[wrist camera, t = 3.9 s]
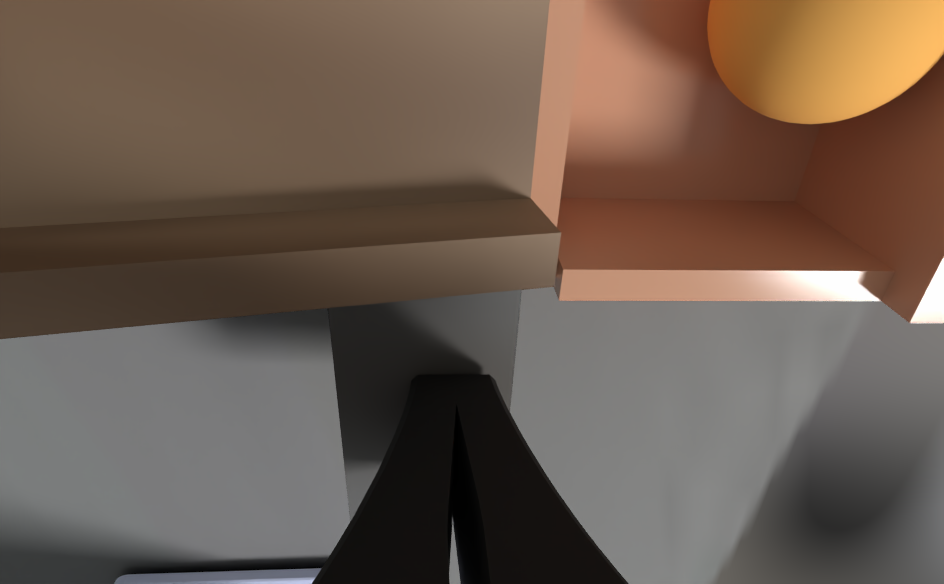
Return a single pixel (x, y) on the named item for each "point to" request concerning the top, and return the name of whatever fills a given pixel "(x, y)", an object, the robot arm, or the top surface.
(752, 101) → the ball
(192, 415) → the top surface
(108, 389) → the top surface
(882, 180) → the cup
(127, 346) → the top surface
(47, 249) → the lever board
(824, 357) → the top surface
